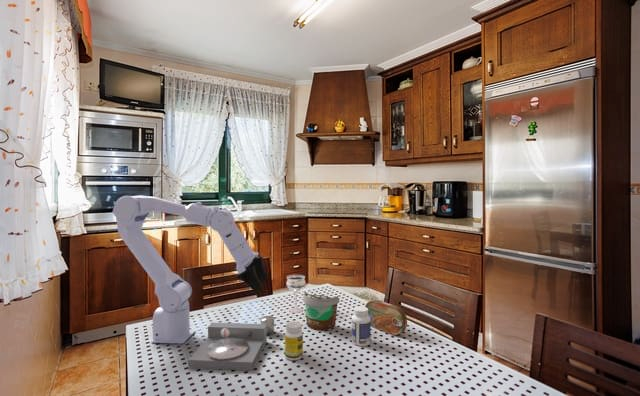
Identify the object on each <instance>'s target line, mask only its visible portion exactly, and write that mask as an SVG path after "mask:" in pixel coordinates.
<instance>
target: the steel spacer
mask: <svg viewBox="0 0 640 396" xmlns="http://www.w3.org/2000/svg"><path fill="white" fill-rule="evenodd" d="M260 324H267V337H270V336H273V335H274V334H275V316H272V315H264V316H262V317H261V318H260Z"/></svg>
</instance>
